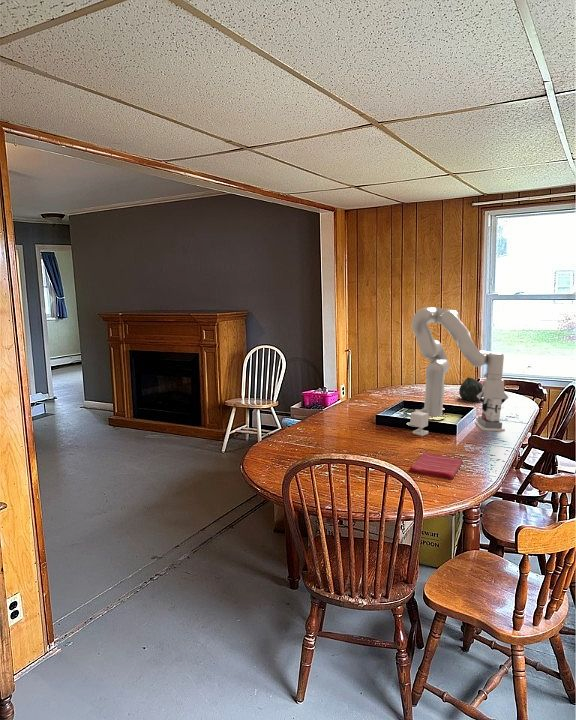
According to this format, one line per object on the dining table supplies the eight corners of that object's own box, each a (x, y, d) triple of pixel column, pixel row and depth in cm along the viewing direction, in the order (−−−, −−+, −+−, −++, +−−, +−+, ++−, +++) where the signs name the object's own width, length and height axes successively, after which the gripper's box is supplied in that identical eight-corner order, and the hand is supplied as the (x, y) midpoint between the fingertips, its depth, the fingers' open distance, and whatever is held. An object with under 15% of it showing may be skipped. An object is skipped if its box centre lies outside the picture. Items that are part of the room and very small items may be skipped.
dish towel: (407, 473, 209) (407, 466, 208) (421, 455, 230) (422, 449, 229) (452, 482, 201) (452, 475, 201) (463, 463, 222) (463, 457, 221)
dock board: (482, 430, 269) (483, 422, 268) (474, 422, 282) (475, 415, 281) (504, 430, 268) (505, 423, 268) (495, 423, 281) (496, 416, 281)
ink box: (481, 417, 278) (483, 395, 276) (489, 417, 279) (491, 394, 277) (491, 421, 270) (493, 398, 268) (499, 421, 271) (502, 398, 269)
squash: (492, 392, 331) (479, 372, 336) (479, 396, 321) (466, 376, 327) (476, 404, 341) (463, 384, 346) (463, 408, 331) (450, 387, 337)
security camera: (416, 430, 265) (417, 410, 264) (428, 433, 260) (430, 413, 259) (409, 432, 261) (410, 412, 259) (421, 436, 256) (423, 415, 254)
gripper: (479, 377, 268) (476, 412, 270) (514, 378, 267) (511, 413, 270) (474, 374, 275) (472, 408, 278) (508, 375, 274) (505, 409, 277)
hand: (491, 410), depth 274 cm, fingers open, 6 cm apart
